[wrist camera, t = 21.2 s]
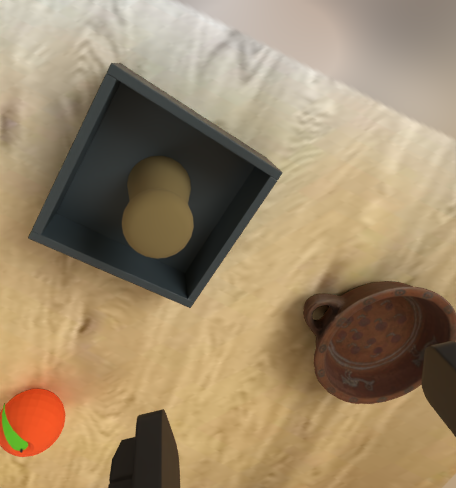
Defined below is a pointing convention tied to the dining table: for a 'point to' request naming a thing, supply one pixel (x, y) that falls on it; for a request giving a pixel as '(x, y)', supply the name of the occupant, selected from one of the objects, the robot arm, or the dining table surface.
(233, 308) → the dining table surface
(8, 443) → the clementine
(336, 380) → the dish
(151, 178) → the cork
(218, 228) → the bin
